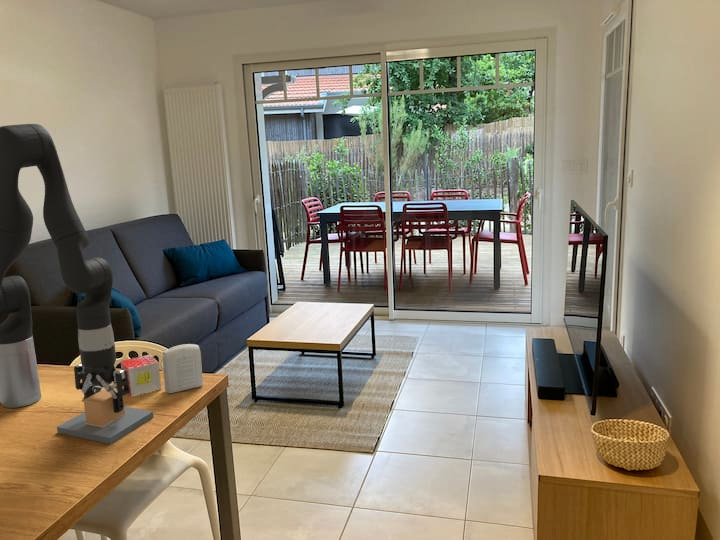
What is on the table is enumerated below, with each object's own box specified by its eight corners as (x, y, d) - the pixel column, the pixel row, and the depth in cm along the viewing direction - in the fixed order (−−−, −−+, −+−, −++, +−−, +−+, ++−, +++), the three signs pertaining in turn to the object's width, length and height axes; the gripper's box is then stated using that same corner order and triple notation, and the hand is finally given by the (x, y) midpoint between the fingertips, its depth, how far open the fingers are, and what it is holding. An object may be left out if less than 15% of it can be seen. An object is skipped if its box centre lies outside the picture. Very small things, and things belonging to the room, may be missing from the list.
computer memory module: (92, 378, 168) (107, 376, 168) (92, 381, 168) (107, 379, 169) (81, 399, 154) (97, 397, 154) (81, 403, 154) (98, 401, 155)
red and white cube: (131, 397, 156) (128, 369, 154) (123, 388, 162) (120, 360, 160) (161, 389, 160) (159, 362, 159) (152, 380, 167) (150, 354, 165)
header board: (57, 432, 137) (55, 418, 136) (103, 407, 150) (101, 394, 149) (110, 444, 131) (108, 429, 131) (153, 417, 144) (152, 403, 143)
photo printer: (200, 381, 165) (196, 339, 163) (205, 386, 162) (202, 343, 159) (163, 390, 160) (159, 347, 157) (167, 395, 156) (163, 351, 154)
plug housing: (86, 423, 138) (83, 399, 137) (109, 410, 144) (106, 388, 143) (102, 426, 136) (99, 402, 135) (125, 413, 142) (122, 390, 141)
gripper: (60, 346, 135) (69, 411, 139) (108, 353, 130) (116, 420, 134) (86, 336, 142) (94, 398, 146) (132, 342, 137) (139, 406, 141)
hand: (104, 408), depth 140 cm, fingers open, 8 cm apart
